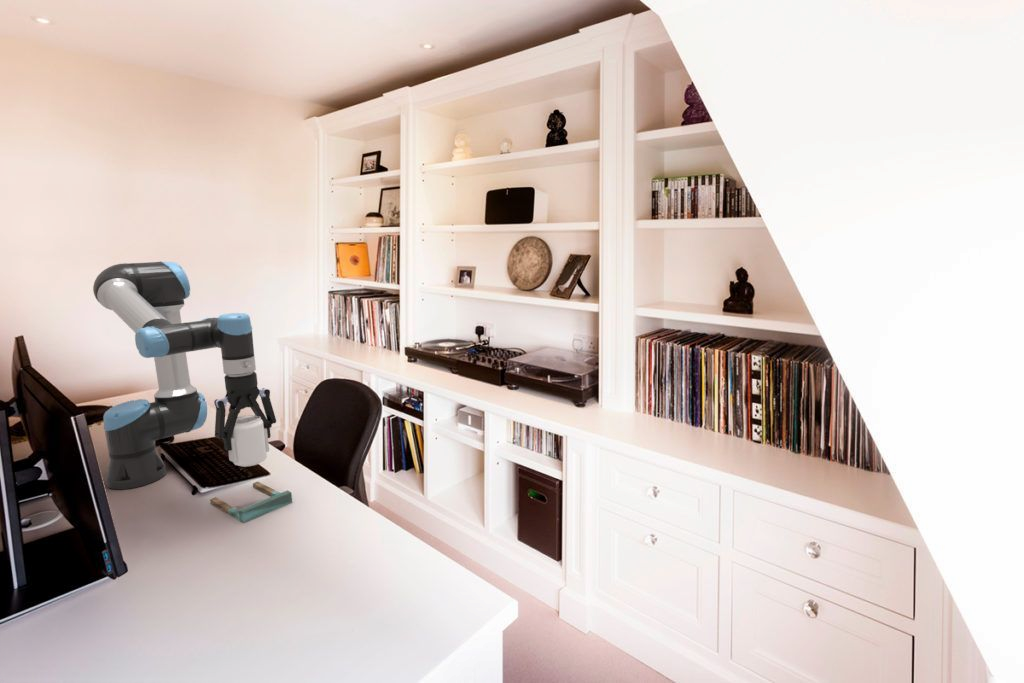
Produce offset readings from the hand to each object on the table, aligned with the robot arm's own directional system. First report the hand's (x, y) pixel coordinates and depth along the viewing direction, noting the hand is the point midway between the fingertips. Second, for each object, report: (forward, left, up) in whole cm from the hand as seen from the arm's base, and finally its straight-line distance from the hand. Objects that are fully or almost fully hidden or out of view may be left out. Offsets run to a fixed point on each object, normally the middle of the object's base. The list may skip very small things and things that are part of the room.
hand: (249, 455), depth 146 cm
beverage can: (0, 0, -2) cm, 2 cm away
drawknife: (-2, 0, -14) cm, 15 cm away
